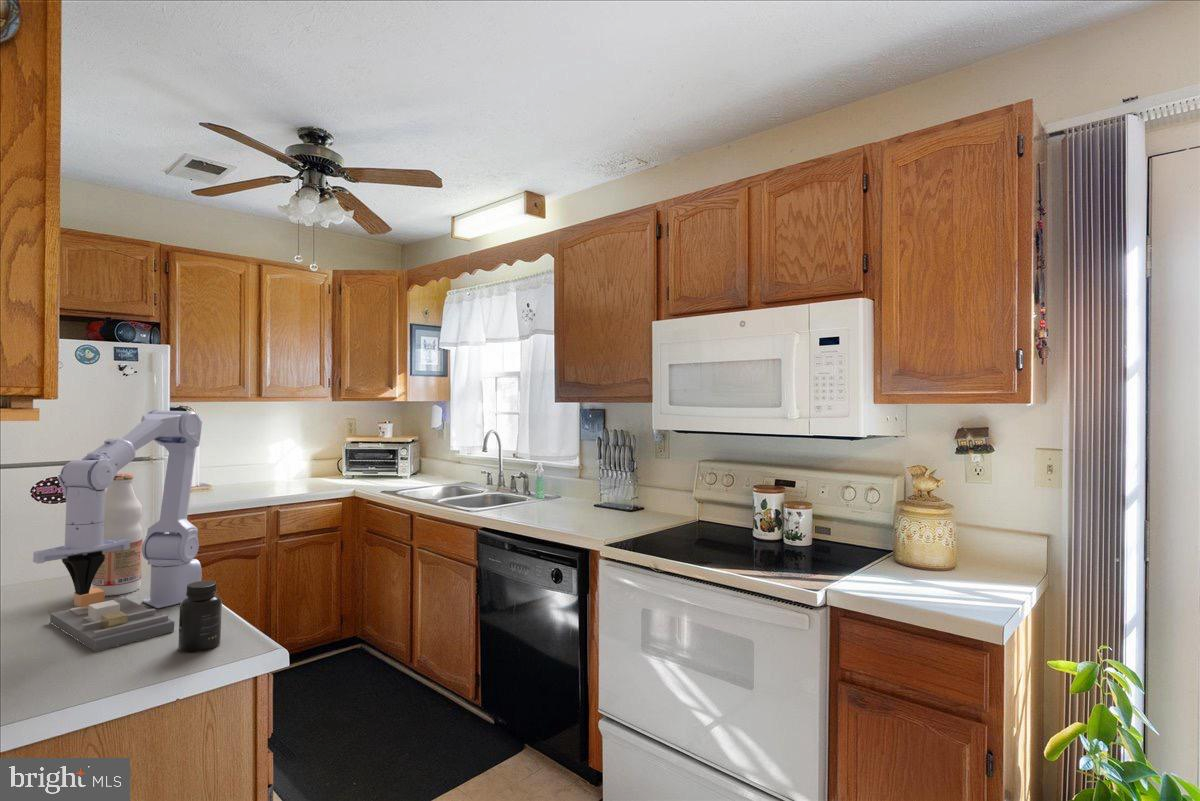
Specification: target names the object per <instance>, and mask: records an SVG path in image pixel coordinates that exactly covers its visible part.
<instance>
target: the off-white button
mask: <svg viewBox="0 0 1200 801" xmlns="http://www.w3.org/2000/svg"><path fill="white" fill-rule="evenodd" d="M115 611H120V604H119V603H117V602H115V601H114V600H113V599H111V600H107V601H106V600H105V602H100V603H96V604H91V605H89V608H88V617H89V618H90V619H92V620H94V621H100V620H101V615H102V614H106V613H111V612H115Z"/></svg>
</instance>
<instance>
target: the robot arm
mask: <svg viewBox="0 0 1200 801" xmlns="http://www.w3.org/2000/svg"><path fill="white" fill-rule="evenodd" d="M202 424H203V421H202V419H201V418H200V416H199V414H198V413H197V412H195V411H194V410H187V411H186V410H185V411H184V410H158V409H151V410H148V411H147V412H146V413H144V414H143V415H142V416H141V419H140V423H138V424H137V425H136V426H135V427H134V428H132V429H131V430H130V431H129V432H128V433H126V434H125V435H124V436H123V437H122V438H118V437H117V438H107V439H105V440H104V441H103V443H102V445H100V446H99V447H97V448H96V449H94V450H93V451H90V452H88V453H87V455H85V456H84V457H83V458H81V459H71V460H70V461H69V462H67V463H65V464H64V466H63V467H61V471H60V472H59V475H58V483H59V485H60V486H61V488H62V492H63V493H62V494H63V495H62V496H63V498H64V499H65V501H66V502H65V503H66V504H65V529H64V530H65V531H64V545H61V546H57V547H52V548H47V549H43V550H36V551H34V550H33V557H32V558H33V559H32V562H33V563H35V564H42V563H45V562H51V561H57V560H58V561H59V560H61V562H62V563H63V565H64V567H65V568H66V570H67V571H68V573H69V576H70V578H71V580H72V583H73V586H74V592H75V593H76V594H78V595H84V594H89V590H90V589H91V588H92V581H93V579H94V577H95V574H96V573H97V571H98V569H99V567H100V566H101V564H102V563H103V562H104V560H105V555H103V554H102V553H103V552H110V551H116V550H127V549H130V540H129V539H117V540H106V541H103V535H104V509H105V493H106V489H107V488H108V487H109V486H110V485H111V484H112V482H113V480H114V477H115V475H117V474H118V473H119V471H120V470H122V469H123V468H124V467H126V466H127V465H129V464H130V463H131V462H132V461H133V460H134V459H135V458H136V451H138V450H139V449H141V448H142V447H144V446H146V445H148V444H149V443H151V442H152V441H154V442H156V443H157V444H159V446H162V447H164V449H166V451H167V452H168V455H167V456H168V457H167V463H166V471H165V472H166V473H165V478H164V479H165V480H164V486H163V492H162V493H163V495H162V500H161V506H160V515H159V520H158V521H157V522H155V523H154V524H153V525H151V526H149V527H148V528H147V532H146V536H145V539H143V540H144V541H142V558H144V559H145V560H146V561H147V565H150V588H149V590H150V591H149V597H148V598H143V599H142V600H141V602H142V603H144V604H147V605H148V606H151V607H153V608H154V609H161V608H166V607H169V606H174V605H175V606H176V605H179V604H181V603H182V601H183V600H184V599H186V598H188V596H186V592H187V585H189V584H190V583H193V582H198V581H203V580H202V577H203V576H202V575H203V574H202V572H203V570H202V564H201V562H200V560H198V559H197V558H195V557H196V555H197V553H198V552H199V548H200V542H199V538H198V533H199V529H198V528H197V527H196V526H195V525H194V524H192V523H191V522H190V521H189V520H188V514H189V506H190V498H191V492H192V490H191V489H192V483H193V482H192V481H193V475H194V466H195V461H196V460H195V459H196V452H197V448H198V447H199V446H200V442H201V434H202V427H203V426H202Z"/></svg>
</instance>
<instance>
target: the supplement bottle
mask: <svg viewBox="0 0 1200 801" xmlns="http://www.w3.org/2000/svg"><path fill="white" fill-rule="evenodd" d="M217 592H218V589H217V582H216V581H215V580H201V581H198V582H193V583H190V584H189V585H187V592H186V596H188V598H186V599H184V600H183V601H182V603H179V604H180V605H179V617H178V620H179V621H178V650H180V651H181V652H183V653H191V654H194V653H195V654H196V653H202V652H206V651H210V650H212V649H214V648H216V647H217V646H219V645H220V643H221V634H222V612H223V611H222V609H223V608H222V607H223V600H222V598H221V597H220V596H219V595H218V594H217Z"/></svg>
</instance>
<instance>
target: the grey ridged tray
mask: <svg viewBox="0 0 1200 801" xmlns="http://www.w3.org/2000/svg"><path fill="white" fill-rule="evenodd" d="M113 601H115V602H117V603H119V604H120V611H121V612H123V613H125V614H127V615H128V620H127V624H123V625H119V626H115V627H110V628H106V629H103V628H101V620H100V621H94V620H92V619H90V618H89V617H88V608H89V606H87V607H82V608H81V607H79V606H77V607H72V608H69V609H65V610H61V611H56V612H51V613H50V617H49V618H50V621H49V622H51V623H53V624H54V625H56V626H57V627H59V628H60V629H62V630H64V631H65V632H67V633H68V634H70V635H72V636H73V637H75V638H76V639H78V640H79V641H81V642H82V643H84V644H85V645H87V646H88V647H87V646H86V647H87V648H89V647H90V648H91V649H90V648H89V649H90V650H92V649H93V650H94V652H95V651H96V652H99V651H98V650H100V651H103V650H102V649H104V650H107V649H111V648H114V647H113V646H115V647H118V646H117V645H119V646H123V645H126V644H125V643H127V644H130V642H131V643H134V642H133V641H135V642H138V641H137V640H139V641H142V639H143V640H146V639H150V638H154V637H158V636H161V634H162V635H166V634H169V632H170V633H173V631H174V632H175V621H174V620H172V619H170V618H169V615H168V614H162V615H161V614H159V613H157V611H156V608H151V609H150V608H148V607H145V606H143V605H142V604H141V605H140V604H138V603H137V602H135V601H133V600H131V599H129V598H125V597H124V598H119V599H115V600H113ZM51 623H50V624H51ZM54 625H53V626H54ZM56 626H55V627H56ZM57 627H56V628H57ZM59 628H58V629H59ZM60 629H59V630H60ZM62 630H61V631H62ZM65 632H64V633H65ZM67 633H66V634H67ZM165 633H166V634H165ZM68 634H67V635H68ZM70 635H69V636H70ZM153 636H154V637H153ZM73 637H72V638H73ZM149 637H150V638H149ZM76 639H75V640H76ZM78 640H77V641H78ZM79 641H78V642H79ZM81 642H80V643H81ZM82 643H81V644H82ZM84 644H83V645H84ZM122 644H123V645H122ZM85 645H84V646H85ZM110 647H111V648H110ZM106 648H107V649H106ZM93 650H92V651H93Z"/></svg>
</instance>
